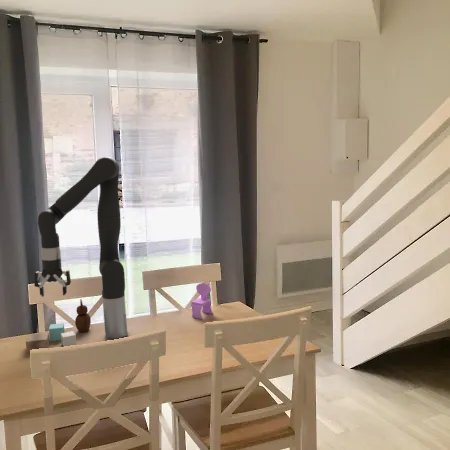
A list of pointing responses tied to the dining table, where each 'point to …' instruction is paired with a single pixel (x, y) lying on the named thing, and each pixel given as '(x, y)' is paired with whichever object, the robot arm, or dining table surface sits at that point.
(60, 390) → the dining table surface
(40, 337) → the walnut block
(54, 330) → the teal cube
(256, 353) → the dining table surface
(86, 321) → the wooden figurine
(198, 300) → the toy chair
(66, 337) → the grey cube
